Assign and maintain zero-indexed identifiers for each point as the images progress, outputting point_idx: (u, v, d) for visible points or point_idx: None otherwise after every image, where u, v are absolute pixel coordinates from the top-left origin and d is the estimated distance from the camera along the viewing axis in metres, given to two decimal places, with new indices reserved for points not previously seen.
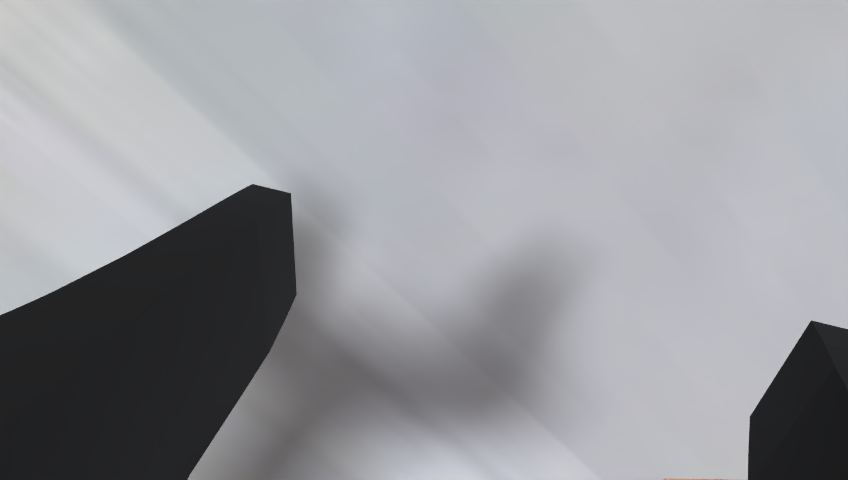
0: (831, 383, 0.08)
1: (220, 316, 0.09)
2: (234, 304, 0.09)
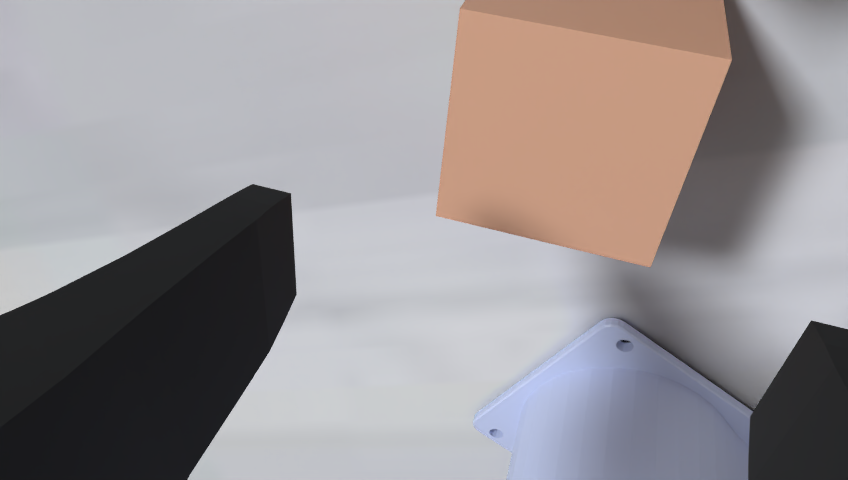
0: (831, 383, 0.08)
1: (219, 316, 0.09)
2: (234, 304, 0.09)
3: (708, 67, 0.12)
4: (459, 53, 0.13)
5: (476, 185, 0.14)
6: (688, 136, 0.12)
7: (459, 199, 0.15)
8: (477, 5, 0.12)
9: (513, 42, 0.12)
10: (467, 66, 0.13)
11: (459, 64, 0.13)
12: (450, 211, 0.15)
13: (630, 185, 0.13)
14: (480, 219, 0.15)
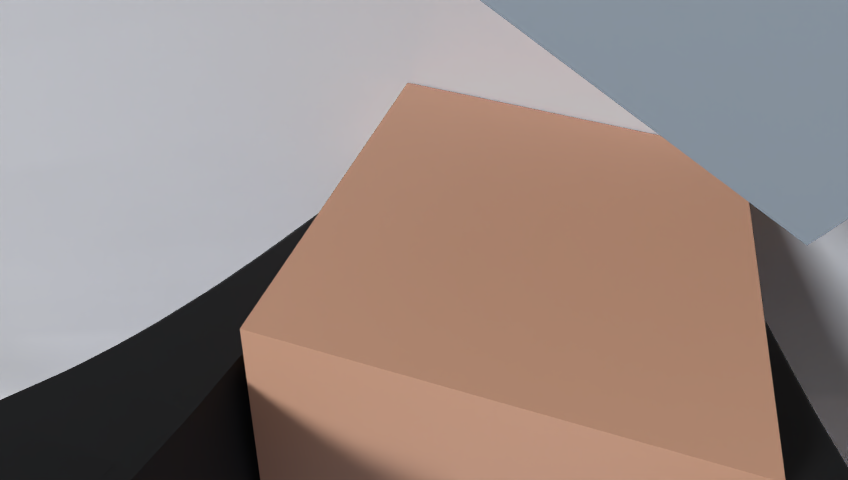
0: None
1: None
2: None
3: None
4: (256, 388, 0.07)
5: None
6: None
7: None
8: (279, 314, 0.06)
9: (350, 390, 0.06)
10: (273, 410, 0.07)
11: (259, 404, 0.07)
12: None
13: None
14: None
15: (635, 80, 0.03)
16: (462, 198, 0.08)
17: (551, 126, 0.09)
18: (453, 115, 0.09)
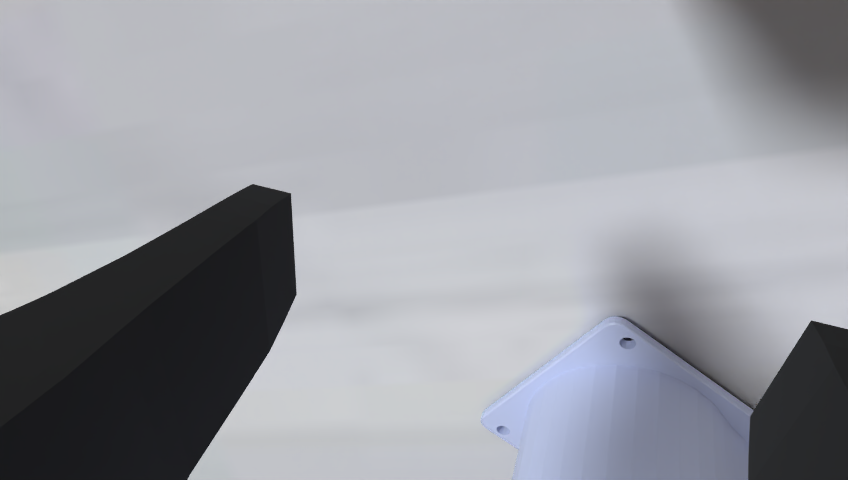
0: (831, 383, 0.08)
1: (220, 316, 0.09)
2: (234, 304, 0.09)
3: None
4: None
5: None
6: None
7: None
8: None
9: None
10: None
11: None
12: None
13: None
14: None
15: None
16: None
17: None
18: None
